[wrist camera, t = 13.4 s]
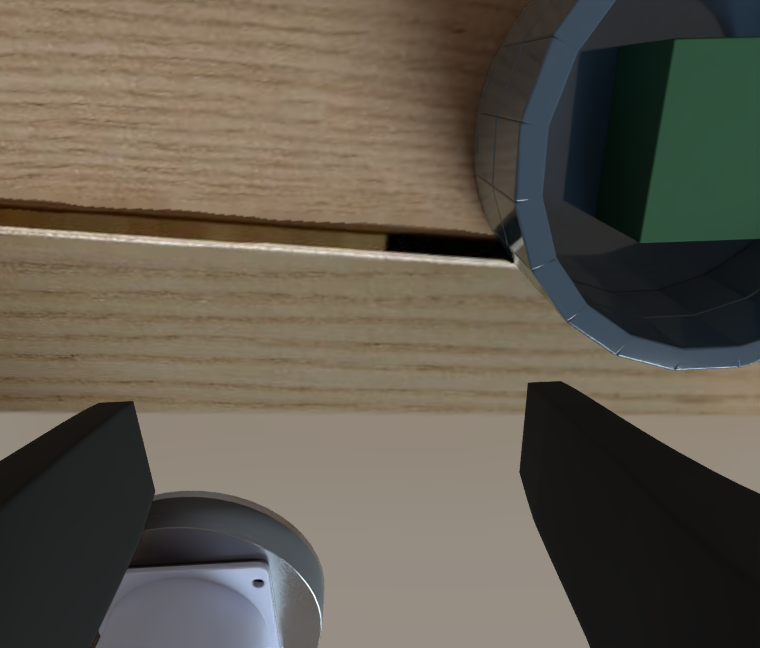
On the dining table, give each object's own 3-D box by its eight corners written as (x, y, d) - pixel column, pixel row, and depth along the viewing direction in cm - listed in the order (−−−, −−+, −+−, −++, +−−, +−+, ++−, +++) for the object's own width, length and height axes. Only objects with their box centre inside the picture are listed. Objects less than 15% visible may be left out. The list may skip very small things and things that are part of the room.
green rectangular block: (700, 215, 18) (764, 238, 15) (594, 218, 18) (639, 243, 15) (737, 43, 16) (818, 34, 13) (618, 45, 16) (674, 37, 13)
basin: (778, 296, 20) (906, 360, 15) (466, 310, 19) (501, 380, 15) (888, -86, 15) (1119, -160, 11) (482, -78, 15) (539, -150, 10)
